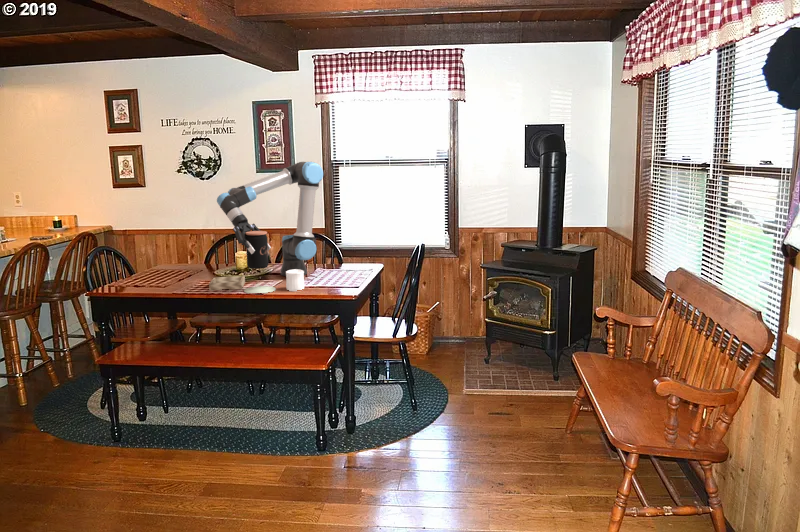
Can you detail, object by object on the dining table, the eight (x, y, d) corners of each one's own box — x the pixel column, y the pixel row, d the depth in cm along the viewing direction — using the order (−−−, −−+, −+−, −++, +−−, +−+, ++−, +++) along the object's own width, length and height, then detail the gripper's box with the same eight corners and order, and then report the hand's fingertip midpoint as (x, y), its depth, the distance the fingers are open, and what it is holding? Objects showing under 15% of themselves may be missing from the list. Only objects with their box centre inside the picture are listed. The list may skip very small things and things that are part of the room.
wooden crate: (245, 282, 358) (244, 276, 357) (241, 288, 342) (241, 282, 341) (214, 283, 356) (213, 277, 355) (209, 290, 340) (209, 283, 339)
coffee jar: (263, 269, 329) (261, 233, 326) (243, 268, 331) (241, 233, 328) (271, 265, 339) (270, 231, 336) (252, 265, 341) (250, 230, 338)
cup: (288, 292, 333) (287, 273, 331) (283, 288, 342) (283, 270, 340) (307, 290, 336) (306, 271, 335) (301, 286, 345) (301, 268, 344)
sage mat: (276, 286, 346) (276, 285, 346) (274, 293, 331) (274, 292, 331) (245, 287, 344) (245, 286, 344) (242, 294, 329) (242, 293, 329)
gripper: (250, 221, 349) (273, 252, 344) (217, 225, 330) (240, 258, 325) (257, 211, 346) (280, 243, 340) (224, 215, 326) (248, 249, 321)
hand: (261, 250), depth 332 cm, fingers closed on coffee jar, 11 cm apart
